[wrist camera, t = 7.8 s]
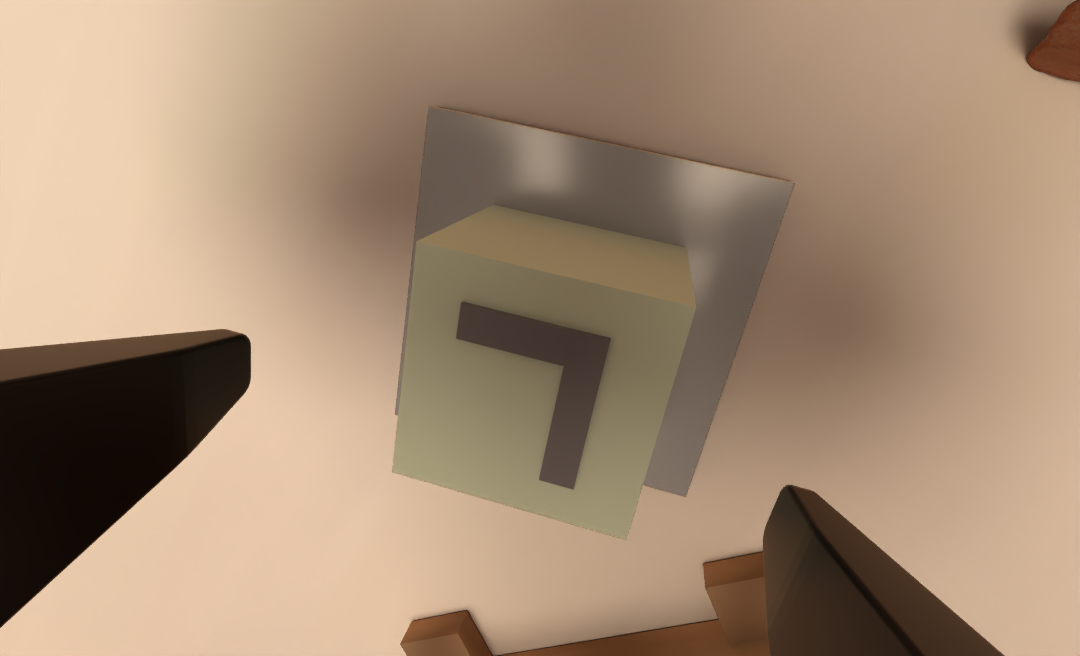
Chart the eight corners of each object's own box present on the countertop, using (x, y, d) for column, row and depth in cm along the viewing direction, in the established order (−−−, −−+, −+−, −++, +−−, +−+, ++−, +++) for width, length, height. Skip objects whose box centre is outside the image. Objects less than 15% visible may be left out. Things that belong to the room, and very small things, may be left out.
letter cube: (686, 247, 14) (696, 309, 9) (637, 420, 16) (625, 544, 11) (489, 204, 15) (407, 241, 10) (463, 374, 17) (384, 473, 12)
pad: (789, 181, 14) (794, 183, 13) (684, 485, 17) (685, 496, 17) (437, 106, 15) (428, 106, 14) (403, 405, 18) (394, 414, 18)
